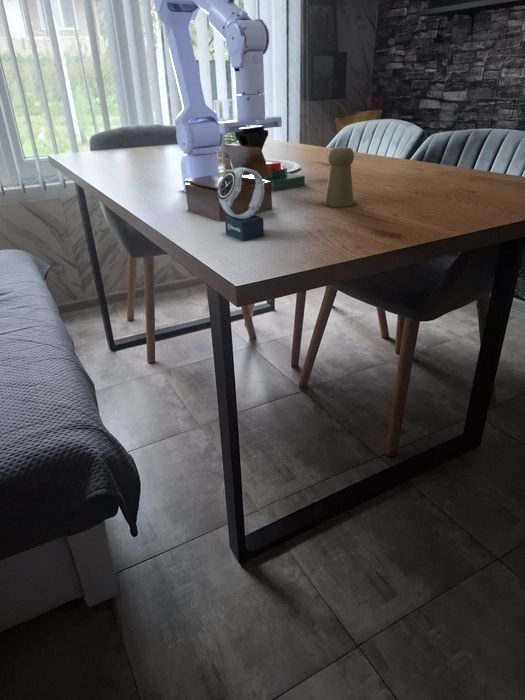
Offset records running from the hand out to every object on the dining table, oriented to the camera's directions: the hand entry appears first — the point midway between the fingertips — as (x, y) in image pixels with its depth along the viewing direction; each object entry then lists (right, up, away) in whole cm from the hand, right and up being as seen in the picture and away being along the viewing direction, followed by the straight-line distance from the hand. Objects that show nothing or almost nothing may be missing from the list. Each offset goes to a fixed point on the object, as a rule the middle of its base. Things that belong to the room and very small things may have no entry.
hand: (253, 168), depth 100 cm
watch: (-1, -18, -16) cm, 24 cm away
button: (+5, +7, +19) cm, 21 cm away
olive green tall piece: (+18, -7, +1) cm, 20 cm away
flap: (-1, +1, -2) cm, 2 cm away
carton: (-5, -9, 0) cm, 10 cm away
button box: (+5, +4, +21) cm, 22 cm away
